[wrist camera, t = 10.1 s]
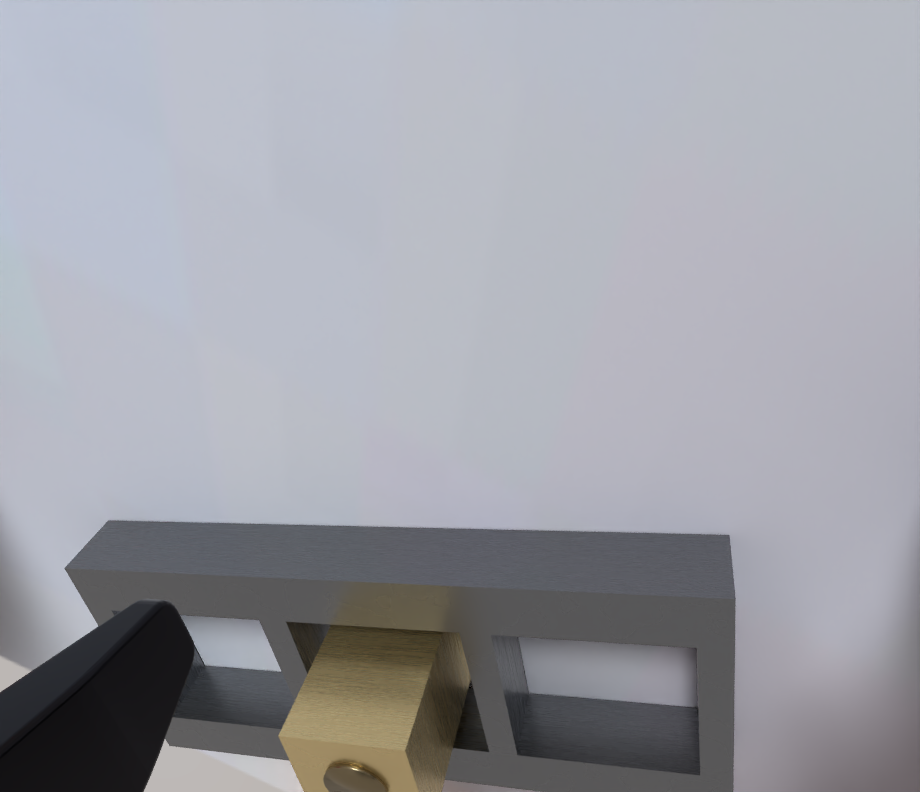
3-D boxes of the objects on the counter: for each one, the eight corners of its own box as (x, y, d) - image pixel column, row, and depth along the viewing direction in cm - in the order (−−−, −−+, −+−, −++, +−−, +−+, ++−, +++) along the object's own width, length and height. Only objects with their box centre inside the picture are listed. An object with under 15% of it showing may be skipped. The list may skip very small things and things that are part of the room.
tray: (729, 535, 22) (735, 599, 20) (727, 746, 27) (733, 815, 25) (108, 520, 28) (64, 567, 26) (200, 694, 33) (169, 745, 31)
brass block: (454, 592, 26) (403, 755, 21) (473, 669, 28) (430, 835, 23) (349, 586, 27) (276, 740, 22) (373, 661, 29) (312, 817, 24)
